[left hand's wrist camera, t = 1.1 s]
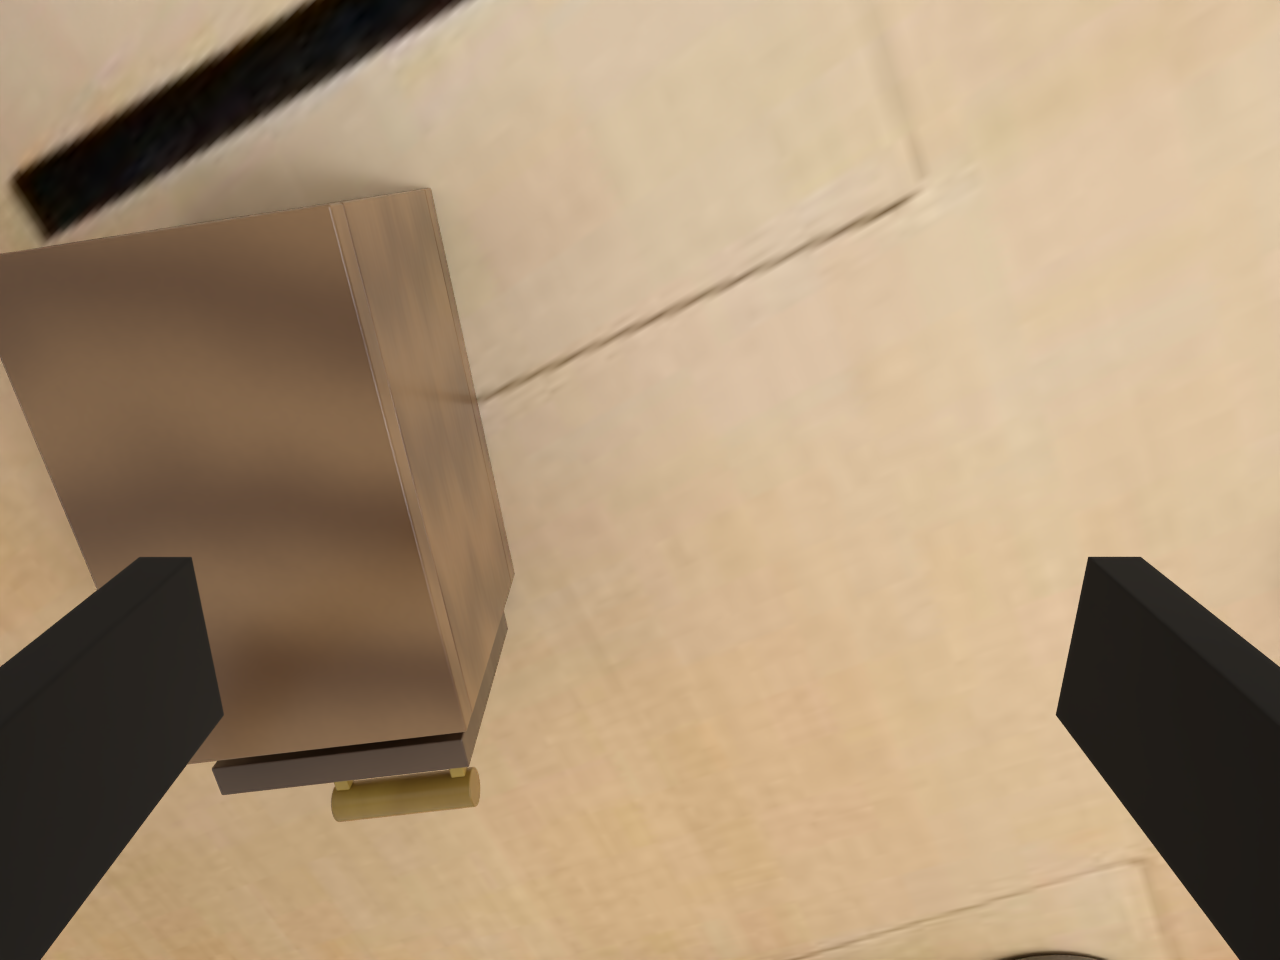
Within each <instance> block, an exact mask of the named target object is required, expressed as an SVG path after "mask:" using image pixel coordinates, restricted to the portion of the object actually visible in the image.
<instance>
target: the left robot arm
mask: <svg viewBox="0 0 1280 960" xmlns="http://www.w3.org/2000/svg"><path fill="white" fill-rule="evenodd" d="M223 716H224V712H223V707H222V702H221V697H220V692H219V688H218V683H217V678H216V673H215V668H214V663H213V658H212V653H211V649H210V644H209V639H208V634H207V629H206V624H205V619H204V614H203V610H202V605H201V600H200V595H199V590H198V585H197V580H196V576H195V571H194V566H193V561H192V557H139V558H137V559H136V560H135V561H134V562H132V563H131V564H130V565H129V566H127V567H126V568H125V569H123V570H122V571H121V572H120V573H118V574H117V575H116V576H115V577H113V578H112V579H111V580H110V581H108V582H107V583H106V584H105V585H103V586H102V587H101V588H99V589H98V590H97V591H96V592H94V593H93V594H92V595H91V596H89V597H88V598H87V599H86V600H84V601H83V602H82V603H81V604H79V605H78V606H77V607H75V608H74V609H73V610H72V611H70V612H69V613H68V614H67V615H65V616H64V617H63V618H62V619H60V620H59V621H58V622H57V623H55V624H54V625H53V626H52V627H50V628H49V629H48V630H46V631H45V632H44V633H43V634H41V635H40V636H39V637H38V638H36V639H35V640H34V641H33V642H31V643H30V644H29V645H28V646H26V647H25V648H24V649H22V650H21V651H20V652H19V653H17V654H16V655H15V656H14V657H12V658H11V659H10V660H9V661H7V662H6V663H5V664H4V665H2V666H1V667H0V960H41V958H42V957H43V956H44V954H45V953H46V952H47V950H48V949H49V948H50V946H51V945H52V944H53V942H54V941H55V940H56V938H57V937H58V936H59V934H60V933H61V932H62V930H63V929H64V928H65V926H66V925H67V924H68V922H69V921H70V920H71V918H72V917H73V916H74V914H75V913H76V912H77V910H78V909H79V908H80V906H81V905H82V904H83V902H84V901H85V900H86V898H87V897H88V896H89V894H90V893H91V892H92V890H93V889H94V888H95V886H96V885H97V884H98V882H99V881H100V880H101V878H102V877H103V876H104V874H105V873H106V872H107V870H108V869H109V868H110V866H111V865H112V864H113V862H114V861H115V860H116V858H117V857H118V856H119V854H120V853H121V852H122V850H123V849H124V848H125V846H126V845H127V844H128V842H129V841H130V840H131V838H132V837H133V836H134V834H135V833H136V832H137V830H138V829H139V828H140V826H141V825H142V824H143V822H144V821H145V820H146V818H147V817H148V816H149V814H150V813H151V812H152V810H153V809H154V808H155V806H156V805H157V804H158V802H159V801H160V800H161V798H162V797H163V796H164V794H165V793H166V792H167V790H168V789H169V788H170V786H171V785H172V784H173V782H174V781H175V780H176V778H177V777H178V776H179V774H180V773H181V772H182V770H183V769H184V768H185V766H186V765H187V764H188V762H189V761H190V760H191V758H192V757H193V756H194V754H195V753H196V752H197V750H198V749H199V748H200V746H201V745H202V744H203V742H204V741H205V740H206V738H207V737H208V736H209V734H210V733H211V732H212V730H213V729H214V728H215V726H216V725H217V724H218V722H219V721H220V720H221V718H222V717H223ZM1056 716H1057V717H1058V718H1059V720H1060V721H1061V722H1062V724H1063V725H1064V726H1065V728H1066V729H1067V730H1068V732H1069V733H1070V734H1071V736H1072V737H1073V738H1074V740H1075V741H1076V742H1077V744H1078V745H1079V746H1080V748H1081V749H1082V750H1083V752H1084V753H1085V754H1086V756H1087V757H1088V758H1089V760H1090V761H1091V762H1092V764H1093V765H1094V766H1095V768H1096V769H1097V770H1098V772H1099V773H1100V774H1101V776H1102V777H1103V778H1104V780H1105V781H1106V782H1107V784H1108V785H1109V786H1110V788H1111V789H1112V790H1113V792H1114V793H1115V794H1116V796H1117V797H1118V798H1119V800H1120V801H1121V802H1122V804H1123V805H1124V806H1125V808H1126V809H1127V810H1128V812H1129V813H1130V814H1131V816H1132V817H1133V818H1134V820H1135V821H1136V822H1137V824H1138V825H1139V826H1140V828H1141V829H1142V830H1143V832H1144V833H1145V834H1146V836H1147V837H1148V838H1149V840H1150V841H1151V842H1152V844H1153V845H1154V846H1155V848H1156V849H1157V850H1158V852H1159V853H1160V854H1161V856H1162V857H1163V858H1164V860H1165V861H1166V862H1167V864H1168V865H1169V866H1170V868H1171V869H1172V870H1173V872H1174V873H1175V874H1176V876H1177V877H1178V878H1179V880H1180V881H1181V882H1182V884H1183V885H1184V886H1185V888H1186V889H1187V890H1188V892H1189V893H1190V894H1191V896H1192V897H1193V898H1194V900H1195V901H1196V902H1197V904H1198V905H1199V906H1200V908H1201V909H1202V910H1203V912H1204V913H1205V914H1206V916H1207V917H1208V918H1209V920H1210V921H1211V922H1212V924H1213V925H1214V926H1215V928H1216V929H1217V930H1218V932H1219V933H1220V934H1221V936H1222V937H1223V938H1224V940H1225V941H1226V942H1227V944H1228V945H1229V946H1230V948H1231V949H1232V950H1233V952H1234V953H1235V954H1236V956H1237V957H1238V958H1239V960H1280V667H1279V666H1278V665H1276V664H1275V663H1274V662H1273V661H1271V660H1270V659H1269V658H1268V657H1266V656H1265V655H1264V654H1263V653H1261V652H1260V651H1259V650H1258V649H1256V648H1255V647H1254V646H1252V645H1251V644H1250V643H1249V642H1247V641H1246V640H1245V639H1244V638H1242V637H1241V636H1240V635H1239V634H1237V633H1236V632H1235V631H1234V630H1232V629H1231V628H1230V627H1228V626H1227V625H1226V624H1225V623H1223V622H1222V621H1221V620H1220V619H1218V618H1217V617H1216V616H1215V615H1213V614H1212V613H1211V612H1210V611H1208V610H1207V609H1206V608H1205V607H1203V606H1202V605H1201V604H1199V603H1198V602H1197V601H1196V600H1194V599H1193V598H1192V597H1191V596H1189V595H1188V594H1187V593H1186V592H1184V591H1183V590H1182V589H1181V588H1179V587H1178V586H1177V585H1175V584H1174V583H1173V582H1172V581H1170V580H1169V579H1168V578H1167V577H1165V576H1164V575H1163V574H1162V573H1160V572H1159V571H1158V570H1157V569H1155V568H1154V567H1153V566H1151V565H1150V564H1149V563H1148V562H1146V561H1145V560H1144V559H1143V558H1141V557H1088V561H1087V566H1086V571H1085V576H1084V580H1083V585H1082V590H1081V595H1080V600H1079V605H1078V610H1077V614H1076V619H1075V624H1074V629H1073V634H1072V639H1071V644H1070V649H1069V653H1068V658H1067V663H1066V668H1065V673H1064V678H1063V683H1062V688H1061V692H1060V697H1059V702H1058V707H1057V712H1056Z"/></svg>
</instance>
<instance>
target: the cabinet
mask: <svg viewBox="0 0 1280 960" xmlns="http://www.w3.org/2000/svg"><path fill="white" fill-rule="evenodd" d="M0 358H1V360H2V363H3V365H4V367H5V370H6V372H7V375H8V377H9V379H10V382H11V384H12V387H13V389H14V391H15V394H16V396H17V399H18V401H19V403H20V406H21V408H22V411H23V413H24V415H25V418H26V420H27V423H28V425H29V427H30V430H31V432H32V435H33V437H34V439H35V442H36V444H37V447H38V449H39V451H40V454H41V456H42V458H43V461H44V463H45V466H46V468H47V470H48V473H49V475H50V478H51V480H52V482H53V485H54V487H55V490H56V492H57V494H58V497H59V499H60V502H61V504H62V506H63V509H64V511H65V514H66V516H67V518H68V521H69V523H70V526H71V528H72V530H73V533H74V535H75V538H76V540H77V542H78V545H79V547H80V550H81V552H82V554H83V557H84V559H85V562H86V564H87V566H88V569H89V571H90V574H91V576H92V578H93V581H94V583H95V585H96V588H97V590H98V589H99V588H101V587H102V586H103V585H105V584H106V583H107V582H108V581H110V580H111V579H112V578H113V577H115V576H116V575H117V574H118V573H120V572H121V571H122V570H123V569H125V568H126V567H127V566H129V565H130V564H131V563H132V562H134V561H135V560H136V559H137V558H139V557H192V561H193V566H194V571H195V576H196V580H197V585H198V590H199V595H200V600H201V605H202V610H203V614H204V619H205V624H206V629H207V634H208V639H209V644H210V649H211V653H212V658H213V663H214V668H215V673H216V678H217V683H218V688H219V692H220V697H221V702H222V707H223V712H224V716H223V717H222V718H221V720H220V721H219V722H218V724H217V725H216V726H215V728H214V729H213V730H212V732H211V733H210V734H209V736H208V737H207V738H206V740H205V741H204V742H203V744H202V745H201V746H200V748H199V749H198V750H197V752H196V753H195V754H194V756H193V757H192V758H191V760H190V761H189V762H188V764H193V763H202V762H211V761H219V760H228V759H236V758H245V757H253V756H262V755H270V754H279V753H288V752H296V751H305V750H313V749H322V748H330V747H339V746H348V745H356V744H365V743H373V742H382V741H390V740H399V739H408V738H416V737H425V736H433V735H442V734H450V733H459V732H465V731H467V728H468V725H469V721H470V718H471V715H472V713H473V710H474V706H475V703H476V700H477V696H478V693H479V690H480V686H481V683H482V680H483V677H484V673H485V670H486V667H487V663H488V660H489V657H490V653H491V650H492V647H493V644H494V640H495V637H496V634H497V630H498V627H499V624H500V620H501V617H502V614H503V611H504V607H505V604H506V601H507V597H508V594H509V591H510V587H511V584H512V580H513V577H514V569H513V565H512V560H511V555H510V551H509V546H508V542H507V537H506V532H505V528H504V523H503V519H502V514H501V509H500V505H499V500H498V496H497V491H496V486H495V482H494V477H493V473H492V468H491V463H490V459H489V454H488V450H487V445H486V440H485V436H484V431H483V427H482V422H481V417H480V413H479V408H478V404H477V399H476V394H475V390H474V385H473V381H472V376H471V371H470V367H469V362H468V358H467V353H466V348H465V344H464V339H463V335H462V330H461V325H460V321H459V316H458V312H457V307H456V302H455V298H454V293H453V289H452V284H451V279H450V275H449V270H448V266H447V261H446V256H445V252H444V247H443V243H442V238H441V233H440V229H439V224H438V220H437V215H436V210H435V206H434V201H433V197H432V192H431V189H430V188H426V189H420V190H413V191H406V192H400V193H393V194H387V195H380V196H373V197H367V198H360V199H353V200H347V201H340V202H334V203H327V204H320V205H314V206H307V207H301V208H294V209H287V210H281V211H274V212H268V213H261V214H254V215H248V216H241V217H235V218H228V219H221V220H215V221H208V222H201V223H195V224H188V225H182V226H175V227H169V228H162V229H156V230H150V231H143V232H137V233H130V234H124V235H118V236H111V237H105V238H99V239H92V240H86V241H79V242H73V243H67V244H60V245H54V246H47V247H41V248H35V249H28V250H22V251H16V252H9V253H3V254H0Z"/></svg>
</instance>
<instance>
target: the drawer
mask: <svg viewBox="0 0 1280 960" xmlns="http://www.w3.org/2000/svg"><path fill="white" fill-rule="evenodd" d="M507 630H508V628H507V623H506V619H505V614H504V611H503V614H502V617H501V620H500V624H499V627H498V630H497V634H496V637H495V640H494V644H493V647H492V650H491V653H490V657H489V660H488V663H487V667H486V670H485V673H484V677H483V680H482V683H481V686H480V690H479V693H478V696H477V700H476V703H475V706H474V710H473V713H472V715H471V718H470V721H469V725H468V728H467V731H465V732H459V733H450V734H442V735H433V736H425V737H416V738H408V739H399V740H390V741H382V742H373V743H365V744H356V745H348V746H339V747H330V748H322V749H313V750H305V751H296V752H288V753H279V754H270V755H262V756H253V757H245V758H236V759H228V760H219V761H217V762H216V763H215V765H214V766H213V768H212V771H213V773H214V776H215V779H216V781H217V784H218V786H219V789H220V791H221V794H222V795H227V794H236V793H245V792H253V791H262V790H271V789H279V788H288V787H297V786H306V785H314V784H323V783H332V782H334V784H335V787H334V790H333V793H332V800H331V807H332V813H333V816H334V818H335V820H336V821H338V822H343V821H352V820H361V819H370V818H379V817H388V816H397V815H406V814H415V813H424V812H433V811H441V810H450V809H459V808H468V807H476V806H477V805H478V802H479V798H480V780H479V775H478V772H477V769H476V768H475V767H469V764H470V761H471V757H472V754H473V750H474V746H475V743H476V739H477V736H478V732H479V729H480V725H481V722H482V718H483V715H484V711H485V708H486V704H487V700H488V697H489V693H490V690H491V686H492V683H493V679H494V676H495V672H496V669H497V665H498V662H499V658H500V654H501V651H502V647H503V644H504V640H505V637H506V633H507ZM467 767H469V768H467ZM445 769H449V770H445ZM437 770H443V771H437ZM428 771H434V772H428ZM419 772H426V773H419ZM410 773H417V774H410ZM402 774H408V775H402ZM393 775H400V776H393ZM384 776H391V777H384ZM376 777H382V778H376ZM367 778H373V779H367ZM358 779H365V780H358ZM354 780H356V781H354Z"/></svg>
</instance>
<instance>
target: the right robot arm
mask: <svg viewBox="0 0 1280 960" xmlns="http://www.w3.org/2000/svg"><path fill="white" fill-rule="evenodd" d="M1017 960H1098V959H1094V958H1088V957H1082V956H1072V955H1045V956H1034V957H1027V958H1021V959H1017Z"/></svg>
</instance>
